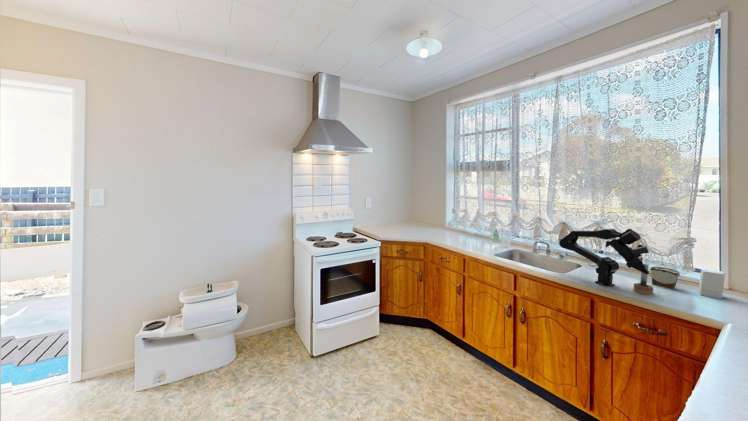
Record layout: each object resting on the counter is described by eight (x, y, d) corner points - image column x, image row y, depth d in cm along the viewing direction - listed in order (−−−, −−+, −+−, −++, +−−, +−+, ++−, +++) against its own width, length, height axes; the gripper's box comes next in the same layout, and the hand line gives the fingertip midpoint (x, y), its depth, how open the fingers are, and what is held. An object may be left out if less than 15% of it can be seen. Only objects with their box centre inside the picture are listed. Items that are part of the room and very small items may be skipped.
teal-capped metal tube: (643, 285, 150) (646, 265, 149) (638, 284, 153) (641, 263, 152) (647, 285, 151) (649, 264, 150) (642, 283, 153) (644, 263, 152)
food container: (683, 289, 156) (685, 271, 155) (677, 291, 154) (679, 272, 153) (654, 282, 167) (656, 265, 167) (648, 283, 165) (650, 266, 164)
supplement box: (722, 299, 143) (725, 274, 142) (700, 295, 148) (702, 271, 147) (719, 295, 148) (722, 271, 147) (698, 291, 154) (700, 268, 152)
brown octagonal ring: (644, 294, 148) (645, 288, 148) (630, 289, 155) (630, 283, 154) (655, 294, 149) (656, 287, 149) (641, 289, 156) (641, 282, 156)
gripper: (637, 242, 145) (665, 268, 139) (637, 237, 159) (664, 261, 152) (615, 255, 151) (642, 280, 145) (617, 249, 165) (642, 272, 159)
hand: (648, 273), depth 150 cm, fingers closed on teal-capped metal tube, 2 cm apart
